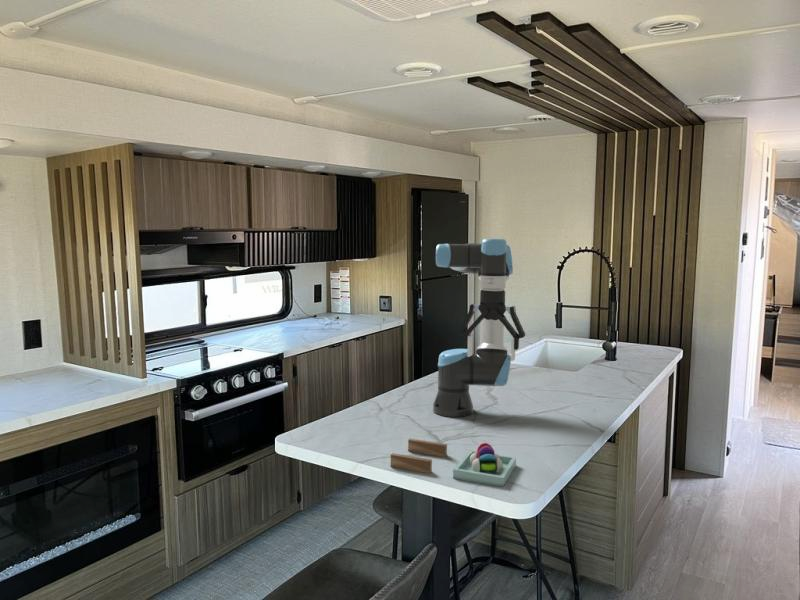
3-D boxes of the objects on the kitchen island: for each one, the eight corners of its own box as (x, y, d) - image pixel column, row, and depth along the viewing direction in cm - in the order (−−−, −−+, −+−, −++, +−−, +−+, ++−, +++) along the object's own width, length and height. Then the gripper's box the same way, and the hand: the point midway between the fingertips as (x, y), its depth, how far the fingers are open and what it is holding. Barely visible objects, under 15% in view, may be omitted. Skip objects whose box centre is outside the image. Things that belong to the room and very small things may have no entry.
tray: (469, 458, 181) (469, 450, 181) (516, 465, 176) (516, 457, 175) (453, 478, 166) (453, 469, 166) (503, 486, 161) (503, 477, 161)
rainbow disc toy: (497, 462, 176) (498, 438, 175) (504, 476, 166) (504, 451, 166) (468, 462, 176) (469, 438, 175) (473, 476, 166) (474, 451, 165)
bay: (410, 449, 188) (410, 438, 188) (446, 455, 183) (446, 444, 183) (390, 466, 174) (390, 454, 174) (429, 473, 170) (429, 461, 169)
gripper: (449, 288, 186) (448, 356, 188) (531, 292, 176) (529, 364, 178) (457, 286, 192) (456, 352, 195) (536, 290, 183) (533, 359, 185)
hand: (491, 358), depth 187 cm, fingers open, 13 cm apart
